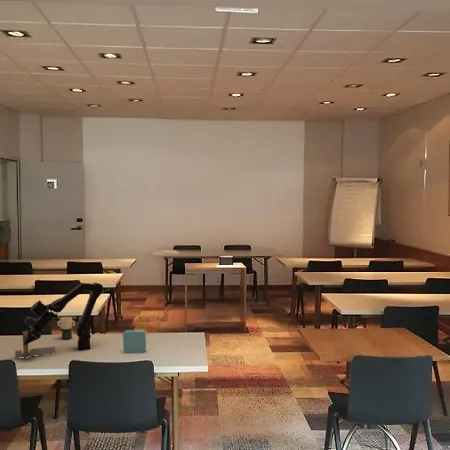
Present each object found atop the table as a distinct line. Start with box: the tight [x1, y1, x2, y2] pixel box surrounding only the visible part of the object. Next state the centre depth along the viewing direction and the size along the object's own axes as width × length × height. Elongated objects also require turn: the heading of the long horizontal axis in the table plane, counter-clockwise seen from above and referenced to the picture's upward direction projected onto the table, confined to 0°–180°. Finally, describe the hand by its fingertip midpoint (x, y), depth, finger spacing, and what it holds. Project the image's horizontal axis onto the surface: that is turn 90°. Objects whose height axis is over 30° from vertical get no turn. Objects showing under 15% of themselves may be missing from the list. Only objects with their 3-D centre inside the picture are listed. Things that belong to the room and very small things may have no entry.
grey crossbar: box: [14, 346, 56, 358], centre depth 302 cm, size 21×2×4 cm, turn 110°
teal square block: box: [122, 329, 147, 354], centre depth 306 cm, size 12×4×12 cm, turn 89°
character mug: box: [57, 316, 76, 340], centre depth 339 cm, size 11×7×13 cm, turn 87°
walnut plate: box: [22, 330, 29, 359], centre depth 300 cm, size 2×7×14 cm, turn 20°
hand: (24, 342), depth 300 cm, fingers open, 9 cm apart
